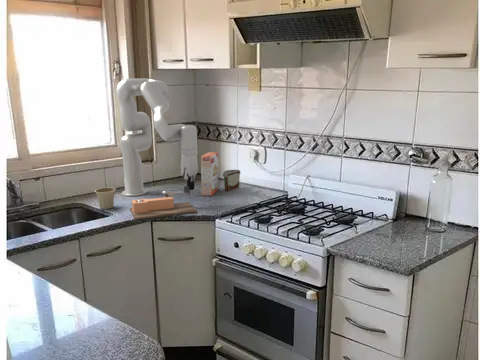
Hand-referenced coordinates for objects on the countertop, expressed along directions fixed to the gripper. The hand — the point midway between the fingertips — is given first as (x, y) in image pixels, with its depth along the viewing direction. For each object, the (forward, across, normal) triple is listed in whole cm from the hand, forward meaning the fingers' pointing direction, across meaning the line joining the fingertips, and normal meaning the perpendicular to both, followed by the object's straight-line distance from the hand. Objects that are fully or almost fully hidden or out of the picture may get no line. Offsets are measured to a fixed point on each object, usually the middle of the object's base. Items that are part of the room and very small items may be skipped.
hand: (190, 189), depth 226 cm
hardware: (+7, +12, -13) cm, 19 cm away
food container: (+8, -35, +7) cm, 37 cm away
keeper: (+1, +5, -5) cm, 8 cm away
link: (+7, +15, -12) cm, 20 cm away
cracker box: (+8, -24, 0) cm, 26 cm away
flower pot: (+8, +16, -37) cm, 41 cm away
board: (+8, +14, -8) cm, 18 cm away
